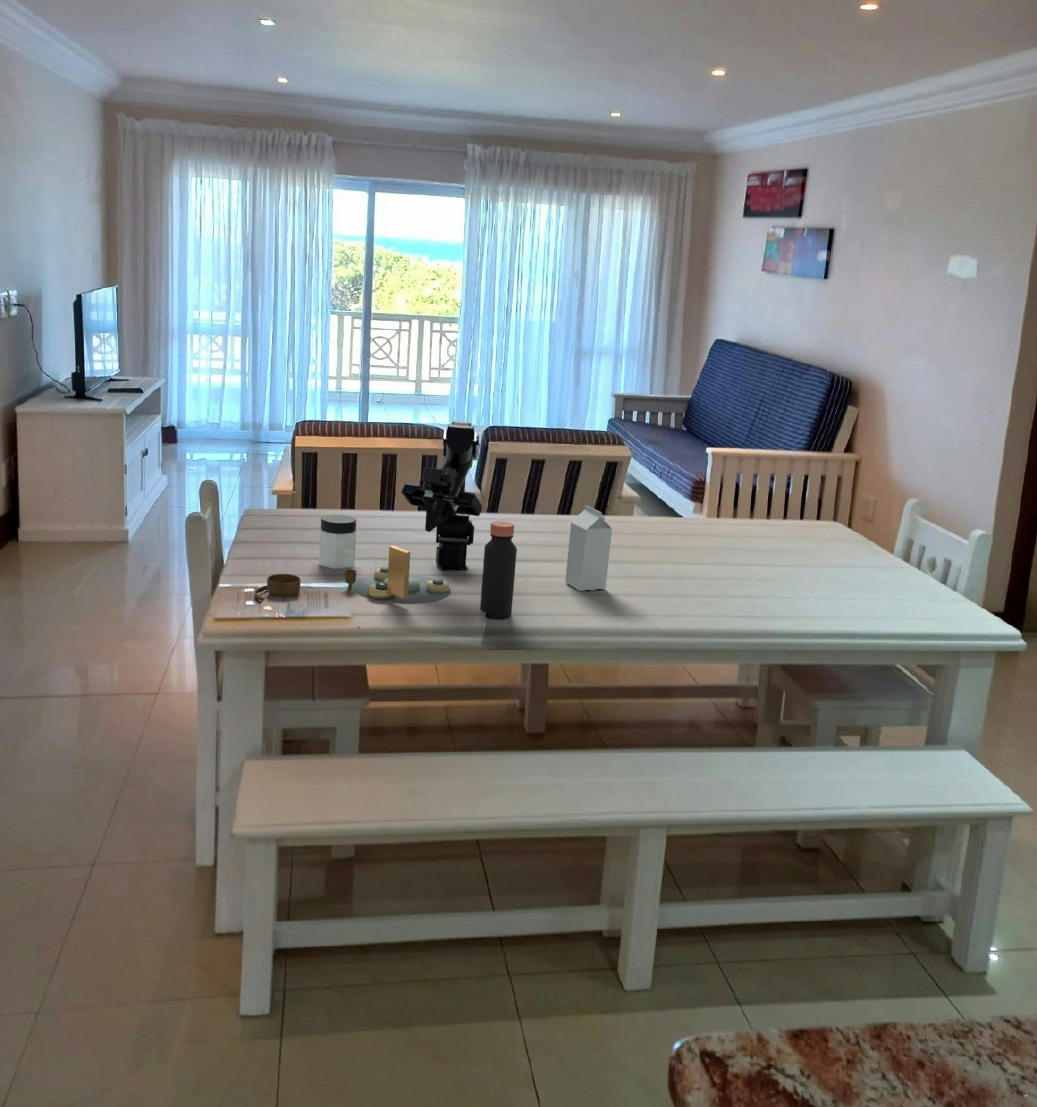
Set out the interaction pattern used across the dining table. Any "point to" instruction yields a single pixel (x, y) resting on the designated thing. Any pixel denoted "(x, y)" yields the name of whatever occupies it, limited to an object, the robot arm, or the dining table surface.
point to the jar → (337, 541)
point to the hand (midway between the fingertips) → (427, 530)
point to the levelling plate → (418, 588)
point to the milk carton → (588, 551)
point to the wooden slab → (393, 576)
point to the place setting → (293, 584)
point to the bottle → (499, 571)
